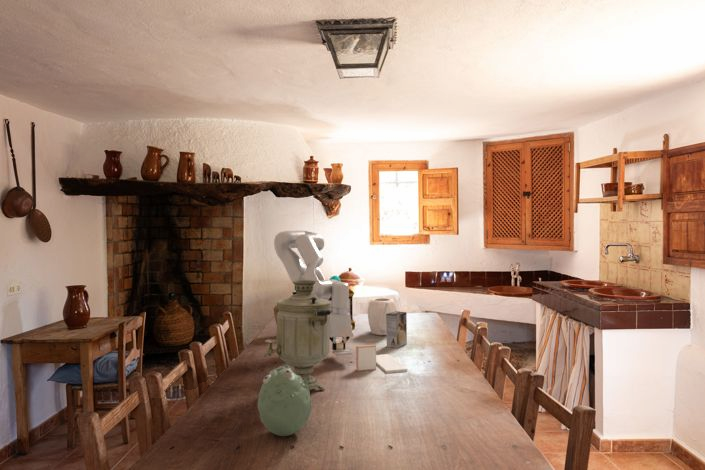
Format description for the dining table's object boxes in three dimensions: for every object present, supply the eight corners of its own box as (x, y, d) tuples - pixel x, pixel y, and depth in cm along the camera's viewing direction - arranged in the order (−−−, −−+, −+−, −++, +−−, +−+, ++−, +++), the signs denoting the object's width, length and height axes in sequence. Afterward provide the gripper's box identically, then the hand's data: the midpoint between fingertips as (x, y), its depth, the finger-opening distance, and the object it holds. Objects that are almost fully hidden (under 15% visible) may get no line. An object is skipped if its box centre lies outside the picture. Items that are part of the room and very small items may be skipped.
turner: (327, 349, 237) (327, 340, 238) (342, 348, 239) (342, 339, 239) (336, 355, 220) (336, 346, 220) (352, 354, 222) (352, 345, 222)
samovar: (253, 382, 200) (252, 278, 199) (318, 374, 209) (317, 275, 208) (268, 409, 172) (267, 288, 171) (343, 399, 182) (343, 284, 180)
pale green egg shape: (316, 421, 162) (316, 358, 161) (305, 449, 143) (305, 376, 142) (266, 420, 163) (266, 357, 162) (249, 447, 144) (249, 375, 143)
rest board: (386, 373, 211) (386, 370, 211) (369, 357, 235) (369, 355, 235) (407, 371, 214) (407, 368, 214) (388, 356, 237) (388, 354, 237)
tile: (357, 371, 214) (357, 347, 214) (356, 369, 216) (356, 345, 216) (376, 369, 216) (376, 345, 216) (374, 368, 219) (374, 344, 218)
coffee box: (396, 342, 263) (396, 310, 262) (407, 344, 259) (407, 312, 258) (386, 346, 255) (386, 313, 255) (397, 348, 251) (397, 315, 251)
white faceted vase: (372, 340, 267) (372, 303, 267) (365, 329, 294) (364, 295, 293) (402, 339, 269) (401, 303, 268) (392, 328, 296) (392, 295, 295)
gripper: (323, 312, 224) (322, 354, 225) (359, 311, 228) (358, 353, 229) (320, 309, 231) (319, 349, 232) (355, 308, 235) (354, 348, 237)
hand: (338, 351), depth 231 cm, fingers closed on turner, 2 cm apart
